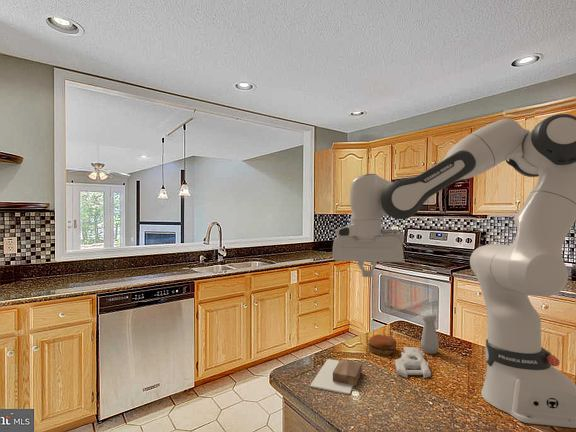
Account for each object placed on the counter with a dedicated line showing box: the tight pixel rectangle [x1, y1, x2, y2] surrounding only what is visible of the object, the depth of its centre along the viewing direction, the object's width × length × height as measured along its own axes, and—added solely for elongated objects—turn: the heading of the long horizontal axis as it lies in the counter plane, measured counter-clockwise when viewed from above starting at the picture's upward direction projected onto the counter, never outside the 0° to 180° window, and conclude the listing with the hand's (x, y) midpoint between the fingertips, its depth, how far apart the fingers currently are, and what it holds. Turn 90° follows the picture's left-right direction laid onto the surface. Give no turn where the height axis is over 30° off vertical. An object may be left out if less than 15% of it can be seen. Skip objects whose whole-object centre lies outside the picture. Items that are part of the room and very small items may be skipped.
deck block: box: [333, 359, 363, 386], centre depth 94 cm, size 2×9×6 cm
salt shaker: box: [420, 312, 440, 355], centre depth 112 cm, size 6×6×13 cm
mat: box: [309, 358, 354, 396], centre depth 96 cm, size 11×18×1 cm, turn 157°
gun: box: [394, 346, 432, 379], centre depth 102 cm, size 18×3×10 cm
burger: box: [367, 333, 398, 356], centre depth 114 cm, size 10×9×5 cm
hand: (367, 276), depth 95 cm, fingers closed
